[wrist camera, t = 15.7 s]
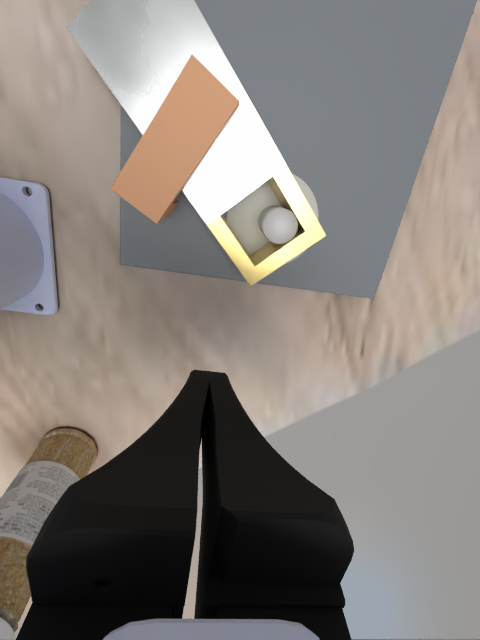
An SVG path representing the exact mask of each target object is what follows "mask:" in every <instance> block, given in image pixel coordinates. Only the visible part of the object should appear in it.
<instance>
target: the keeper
mask: <svg viewBox="0 0 480 640" xmlns="http://www.w3.org/2000/svg"><path fill="white" fill-rule="evenodd" d="M239 103H240V101H239V100H238V99H237V98H236V97H235V96H234V95H233V94H232V93H231V92H230V91H229V90H228V89H227V88H226V87H225V86H224V85H223V84H222V83H221V82H220V81H219V80H218V79H217V78H216V77H215V76H214V75H213V74H212V73H211V72H210V71H209V70H208V69H207V68H206V67H205V66H204V65H203V64H202V63H200V62H199V61H198V60H197V59H196V58H195V57H194V56H193V55H191V56H190V58H189V60H188V61H187V63H186V65H185V66H184V68H183V70H182V71H181V73H180V75H179V76H178V78H177V80H176V81H175V83H174V84H173V86H172V88H171V89H170V91H169V93H168V94H167V96H166V98H165V99H164V101H163V103H162V104H161V106H160V108H159V109H158V111H157V113H156V114H155V116H154V118H153V119H152V121H151V123H150V124H149V126H148V128H147V129H146V131H145V132H144V134H143V136H142V137H141V139H140V141H139V142H138V144H137V146H136V147H135V149H134V151H133V152H132V154H131V156H130V157H129V159H128V161H127V162H126V164H125V166H124V167H123V169H122V171H121V172H120V174H119V176H118V177H117V179H116V181H115V182H114V184H113V185H112V187H111V190H113V191H114V192H115V193H117V194H118V195H119V196H121V197H122V198H123V199H124V200H126V201H127V202H128V203H130V204H131V205H132V206H134V207H135V208H136V209H138V210H139V211H140V212H142V213H143V214H144V215H146V216H147V217H148V218H150V219H151V220H152V221H154V222H155V223H156V224H157V223H159V222H161V221H162V220H164V219H165V218H167V217H169V216H170V215H171V214H172V212H173V211H174V209H175V208H176V206H177V205H178V203H179V202H180V201H179V200H177V199H176V197H177V196H178V194H179V193H180V191H181V190H182V189H183V187H184V186H185V184H186V183H187V181H188V180H189V178H190V177H191V175H192V174H193V172H194V171H195V169H196V168H197V166H198V165H199V164H200V162H201V161H202V159H203V158H204V156H205V155H206V153H207V152H208V150H209V149H210V147H211V146H212V144H213V143H214V141H215V140H216V139H217V137H218V136H219V134H220V133H221V131H222V130H223V128H224V127H225V125H226V124H227V122H228V121H229V119H230V118H231V116H232V115H233V114H234V112H235V111H236V109H237V108H238V106H239Z"/></svg>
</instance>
